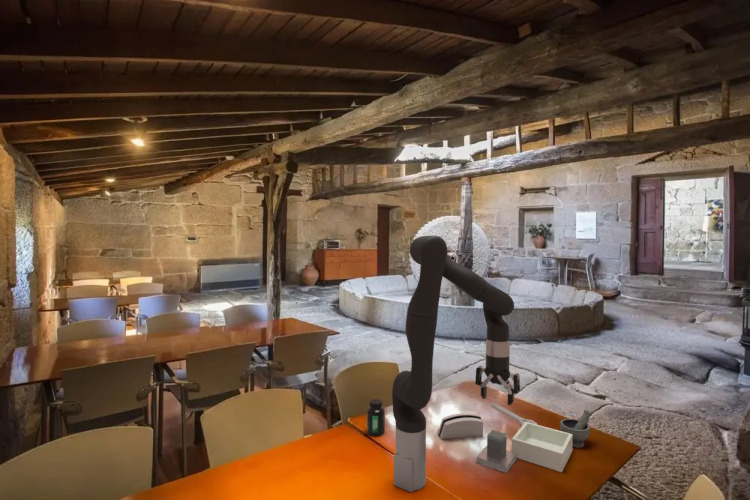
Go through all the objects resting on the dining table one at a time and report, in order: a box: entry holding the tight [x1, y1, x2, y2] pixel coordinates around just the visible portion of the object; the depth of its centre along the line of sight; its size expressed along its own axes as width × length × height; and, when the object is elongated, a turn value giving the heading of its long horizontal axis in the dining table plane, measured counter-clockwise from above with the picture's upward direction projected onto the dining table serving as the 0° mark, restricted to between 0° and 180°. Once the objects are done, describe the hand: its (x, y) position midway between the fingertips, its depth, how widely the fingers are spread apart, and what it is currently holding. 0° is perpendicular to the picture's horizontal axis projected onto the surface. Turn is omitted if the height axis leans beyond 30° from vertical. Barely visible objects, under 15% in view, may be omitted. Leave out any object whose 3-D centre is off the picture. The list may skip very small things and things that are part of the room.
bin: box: [511, 422, 573, 473], centre depth 141 cm, size 16×16×6 cm
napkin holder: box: [437, 412, 484, 440], centre depth 154 cm, size 17×5×10 cm, turn 100°
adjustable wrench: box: [491, 402, 539, 427], centre depth 170 cm, size 25×6×2 cm, turn 19°
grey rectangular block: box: [486, 429, 508, 460], centre depth 136 cm, size 5×5×7 cm
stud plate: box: [475, 445, 518, 474], centre depth 137 cm, size 10×10×7 cm
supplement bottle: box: [366, 398, 386, 437], centre depth 156 cm, size 7×7×12 cm
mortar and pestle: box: [559, 409, 593, 449], centre depth 149 cm, size 11×9×12 cm
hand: (496, 401), depth 136 cm, fingers open, 8 cm apart
